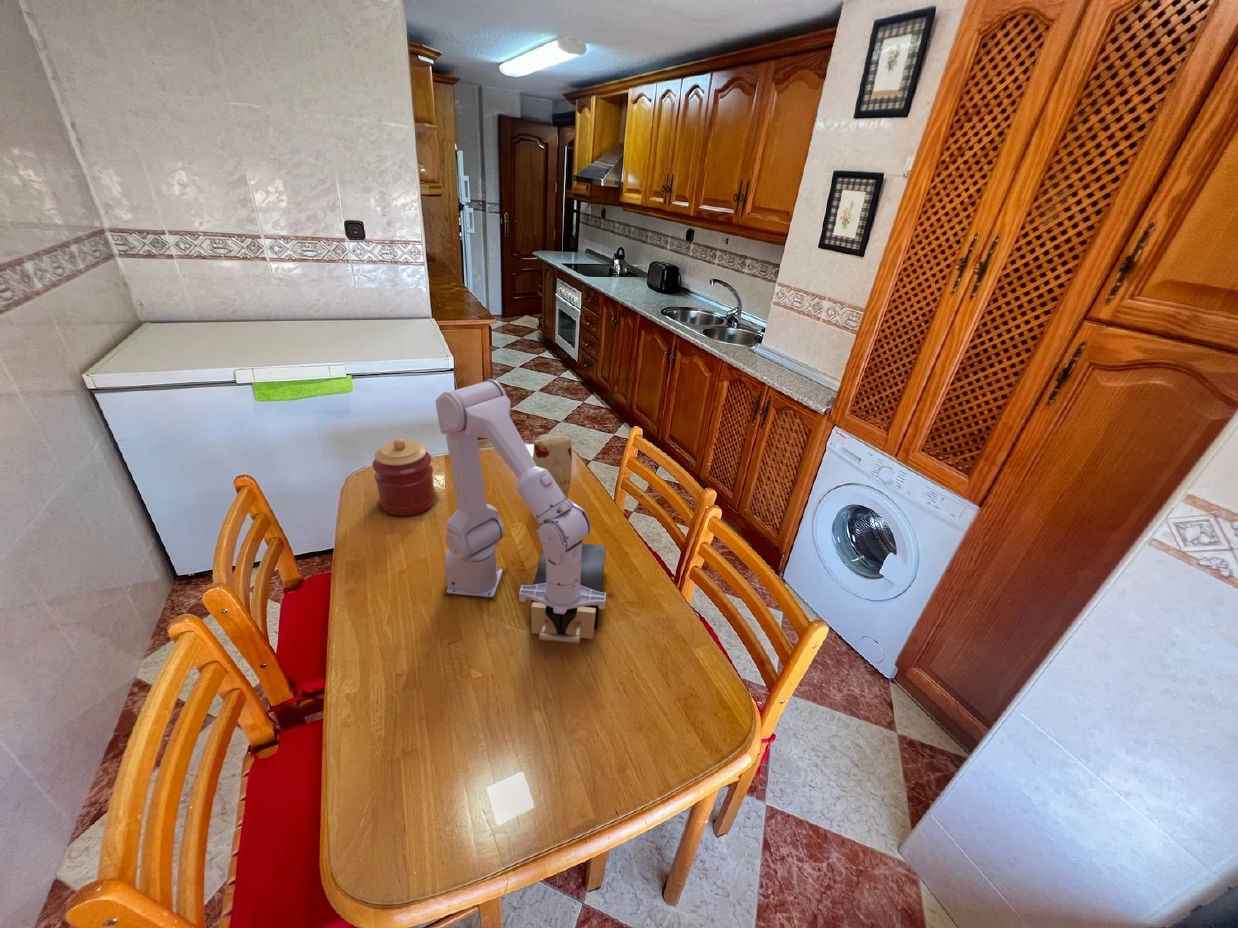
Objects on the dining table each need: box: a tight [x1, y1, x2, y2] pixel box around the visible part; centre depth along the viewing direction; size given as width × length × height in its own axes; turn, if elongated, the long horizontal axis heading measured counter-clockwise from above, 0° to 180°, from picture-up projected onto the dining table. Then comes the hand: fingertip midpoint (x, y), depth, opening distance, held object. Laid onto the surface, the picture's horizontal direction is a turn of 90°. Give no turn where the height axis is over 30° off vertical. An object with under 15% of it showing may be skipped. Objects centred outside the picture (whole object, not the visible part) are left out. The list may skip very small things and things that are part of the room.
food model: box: [532, 433, 573, 500], centre depth 123 cm, size 10×7×20 cm
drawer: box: [530, 602, 596, 645], centre depth 94 cm, size 18×11×7 cm, turn 177°
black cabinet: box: [530, 543, 607, 631], centre depth 98 cm, size 15×13×9 cm
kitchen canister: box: [371, 438, 437, 517], centre depth 119 cm, size 13×13×18 cm
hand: (562, 630), depth 88 cm, fingers closed, pressing on drawer
